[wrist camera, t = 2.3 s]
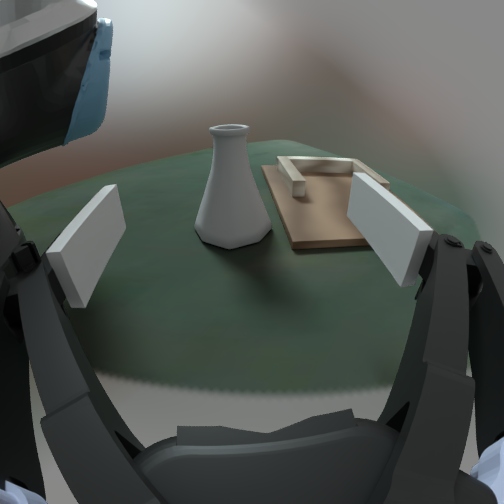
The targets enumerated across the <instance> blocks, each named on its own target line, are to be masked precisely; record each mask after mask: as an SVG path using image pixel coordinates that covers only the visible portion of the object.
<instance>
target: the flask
mask: <svg viewBox="0 0 504 504" xmlns="http://www.w3.org/2000/svg"><path fill="white" fill-rule="evenodd" d="M209 131H210V134H211V135H213V141H214V152H213V160H212V167H211V172H210V175H209V179H208V182H207V186H206V189H205V193H204V196H203V199H202V202H201V206H200V209H199V212H198V215H197V218H196V222H195V226H194V228H195V230H196V231H197V233H198V235H199V236H200V238H201V240H202V241H203V242H207V243H210V244H213V245H216V246H220V247H223V248H226V249H233V248H237V247H241V246H244V245H248V244H252V243H256V242H259V241H260V240H261V239H262V238H263V237H264V236H265V235H266V234H267V233H268V232H269V231H270V230H271V229H272V225H271V222H270V219H269V216H268V214H267V212H266V209H265V207H264V204H263V202H262V199H261V197H260V194H259V191H258V189H257V186H256V183H255V180H254V178H253V175H252V172H251V170H250V165H249V160H248V155H247V150H246V136H247V134H248V133H249V131H250V127H248V126H245V125H235V124H229V125H219V126H215V127H212V128H209Z"/></svg>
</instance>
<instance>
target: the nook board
mask: <svg viewBox="0 0 504 504" xmlns="http://www.w3.org/2000/svg"><path fill="white" fill-rule="evenodd" d="M353 172H356V173H365V174H367V175H368V176H369V177H371V178H372V179H373V180H375V181H376V182H377V183H379V184H380V185H381V186H382V187H384V188H385V189H386V190H388V191H389V192H390V193H391V194H392V195H394V196H395V197H396V198H397V199H399V200H400V201H401V202H402V203H403V204H405V205H406V206H407V207H408V208H409V209H410V210H412V209H411V208H410V207H409V206H408V205H407V204H406V203H404V202H403V201H402V200H401V199H400V198H399V197H397V196H396V195H395V194H394V193H393V192H391V191H390V190H389V186H390V183H389V182H388V181H386V180H385V179H384V178H382V177H381V176H380V175H378V174H377V173H376V172H374V171H373V170H372V169H370V168H369V167H368V166H366V165H365V164H363V163H362V162H360V161H359V160H357V159H349V158H330V157H298V156H277V165H262V173H263V175H264V178H265V180H266V183H267V185H268V188H269V190H270V193H271V195H272V198H273V200H274V203H275V205H276V208H277V211H278V213H279V216H280V218H281V221H282V224H283V226H284V229H285V232H286V234H287V237H288V240H289V242H290V245H291V248H292V249H307V248H326V247H345V246H364V245H370V244H369V243H368V242H367V240H366V239H365V238H364V236H363V235H362V234H361V233H360V231H359V230H358V229H357V228H356V226H355V225H354V224H353V223H352V221H351V220H350V219H349V218H348V216H347V212H348V205H349V198H350V191H351V184H352V176H353ZM412 211H413V212H414V213H416V212H415V211H414V210H412ZM416 214H417V213H416ZM417 215H418V214H417ZM418 216H419V215H418ZM419 217H420V216H419ZM422 220H423V219H422ZM424 221H425V220H424ZM425 222H426V221H425ZM426 223H427V222H426ZM427 224H428V223H427ZM428 225H429V224H428ZM429 226H430V225H429Z"/></svg>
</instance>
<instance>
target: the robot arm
mask: <svg viewBox="0 0 504 504" xmlns="http://www.w3.org/2000/svg"><path fill="white" fill-rule="evenodd" d="M96 18H97V4H96V2H95V1H93V0H0V169H1V168H3V167H5V166H7V165H10V164H12V163H14V162H17V161H19V160H21V159H24V158H27V157H29V156H32V155H34V154H37V153H40V152H43V151H45V150H48V149H51V148H54V147H57V146H60V145H62V146H65V145H66V144H68V143H69V142H70V141H73V140H76V139H78V138H81V137H84V136H87V135H90V134H92V133H93V132H95V131H96V130H97V129H98V128H99V127H100V126H101V124H102V123H103V120H104V118H105V113H106V106H107V96H108V85H109V73H110V58H109V57H110V56H111V46H112V36H113V25H112V21H111V20H110V19H104V18H100V19H96ZM347 216H348V218H349V219H350V220H351V221H352V223H353V224H354V225H355V226H356V228H357V229H358V230H359V231H360V233H361V234H362V235H363V236H364V238H365V239H366V240H367V242H368V243H369V244H370V246H371V247H372V248H373V249H374V251H375V252H376V253H377V255H378V256H379V258H380V259H381V260H382V262H383V263H384V264H385V266H386V267H387V268H388V270H389V271H390V273H391V274H392V275H393V277H394V278H395V280H396V281H397V283H398V284H399V285H400V287H404V286H411V285H414V284H415V281H416V279H417V276H418V273H419V275H420V276H421V277H422V278H423V280H422V282H421V285H420V287H419V289H418V292H417V294H416V296H415V300H417V303H416V308H415V312H414V316H413V320H412V325H411V328H410V332H409V336H408V340H407V343H406V347H405V350H404V354H403V357H402V360H401V363H400V366H399V370H398V373H397V375H396V378H395V381H394V384H393V387H392V390H391V392H390V395H389V398H388V400H387V403H386V405H385V408H384V410H383V412H382V414H381V415H380V417H379V419H378V420H377V421H373V420H369V419H360V418H354V415H353V412H352V409H347V410H344V411H339V412H334V413H329V414H324V415H319V416H313V417H310V418H308V419H305V420H303V421H301V422H298V423H295V424H293V425H290V426H288V427H285V428H283V429H280V430H277V431H274V432H271V433H259V432H252V431H245V430H239V429H233V428H228V427H222V426H208V427H207V426H205V427H204V426H199V427H198V426H196V427H195V426H192V427H191V426H177V436H175V437H170V438H167V439H164V440H162V441H159V442H157V443H154V444H153V445H151V446H149V447H147V448H145V447H144V446H143V445H142V444H141V443H140V442H139V441H138V439H137V438H136V437H135V436H134V435H133V434H132V432H131V431H130V429H129V428H128V427H127V425H126V424H125V422H124V421H123V419H122V418H121V416H120V415H119V413H118V412H117V410H116V408H115V407H114V405H113V404H112V402H111V400H110V399H109V397H108V395H107V394H106V392H105V390H104V389H103V387H102V385H101V383H100V381H99V380H98V378H97V376H96V374H95V372H94V370H93V368H92V367H91V365H90V363H89V361H88V359H87V357H86V355H85V353H84V351H83V349H82V346H81V344H80V342H79V340H78V338H77V336H76V333H75V331H74V329H73V326H72V324H71V322H70V319H69V317H68V314H67V312H66V310H65V308H64V306H63V304H62V303H63V301H64V299H65V297H66V299H67V300H68V302H69V304H70V306H71V308H86V306H87V303H88V301H89V299H90V297H91V295H92V293H93V291H94V288H95V286H96V284H97V282H98V280H99V278H100V276H101V274H102V272H103V270H104V268H105V266H106V264H107V262H108V260H109V259H110V257H111V255H112V253H113V251H114V249H115V247H116V245H117V244H118V242H119V240H120V238H121V236H122V235H123V233H124V231H125V229H126V225H125V220H124V216H123V212H122V208H121V203H120V198H119V194H118V189H117V184H115V185H109V186H104V187H103V188H102V189H101V190H100V191H99V192H98V193H97V194H96V195H95V196H94V198H93V199H92V200H91V201H90V202H89V203H88V204H87V205H86V206H85V207H84V208H83V209H82V210H81V211H80V212H79V214H78V215H77V216H76V217H75V218H74V219H73V220H72V221H71V223H70V224H69V225H68V226H67V227H66V228H65V230H64V231H63V232H61V233H60V234H59V235H58V236H57V237H56V238H55V240H54V242H52V243H51V245H50V247H48V248H47V250H46V251H45V252H44V253H43V255H42V256H41V257H40V256H39V253H38V251H37V248H36V246H35V243H34V242H33V241H26V238H25V236H24V233H23V231H22V229H21V228H20V227H19V225H17V224H16V223H15V221H14V219H13V218H12V216H11V215H10V213H9V212H8V211H7V209H6V208H5V206H4V205H3V204H2V202H1V201H0V504H48V503H47V502H46V495H45V488H44V481H43V477H42V472H41V467H40V462H39V458H38V453H37V448H36V442H35V436H34V429H33V421H32V413H31V401H30V385H29V360H30V364H31V368H32V371H33V374H34V378H35V382H36V385H37V388H38V392H39V395H40V398H41V401H42V404H43V406H44V409H45V412H46V416H44V417H43V418H41V421H40V424H41V427H42V431H43V433H44V436H45V438H46V441H47V443H48V446H49V448H50V450H51V452H52V455H53V457H54V459H55V461H56V463H57V465H58V467H59V469H60V471H61V473H62V475H63V477H64V479H65V481H66V482H67V484H68V486H69V488H70V490H71V492H72V493H73V495H74V497H75V498H76V500H77V502H78V503H79V504H504V264H503V262H502V260H501V258H500V257H499V255H498V253H497V252H496V250H495V249H494V248H493V247H492V246H491V245H490V244H488V243H487V242H482V241H476V242H475V244H474V247H473V250H469V249H465V248H464V245H463V244H462V242H461V241H459V240H458V239H457V238H455V237H453V236H450V235H447V234H441V235H439V234H438V233H437V232H436V231H435V230H434V229H433V228H432V227H431V226H429V225H428V224H427V223H426V222H425V221H424V220H422V218H421V217H419V216H418V215H417V214H416V213H414V212H413V211H412V210H410V209H409V208H408V207H407V206H406V205H405V204H403V203H402V202H401V201H400V200H399V199H397V198H396V197H395V196H394V195H392V194H391V193H390V192H389V191H388V190H386V189H385V188H384V187H382V186H381V185H380V184H379V183H377V182H376V181H375V180H373V179H372V178H371V177H369V176H368V175H367V174H365V173H356V172H353V176H352V184H351V191H350V198H349V205H348V212H347ZM482 287H483V288H482ZM481 289H482V291H481ZM480 291H481V292H480ZM468 351H469V357H470V364H471V371H472V377H469V376H466V368H467V356H468ZM474 400H475V417H476V440H477V449H478V455H479V463H477V464H476V465H474V466H473V468H472V470H471V476H470V475H468V474H467V473H465V472H463V471H461V470H459V467H460V464H461V461H462V457H463V453H464V449H465V445H466V440H467V436H468V432H469V426H470V421H471V415H472V409H473V403H474Z"/></svg>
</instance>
